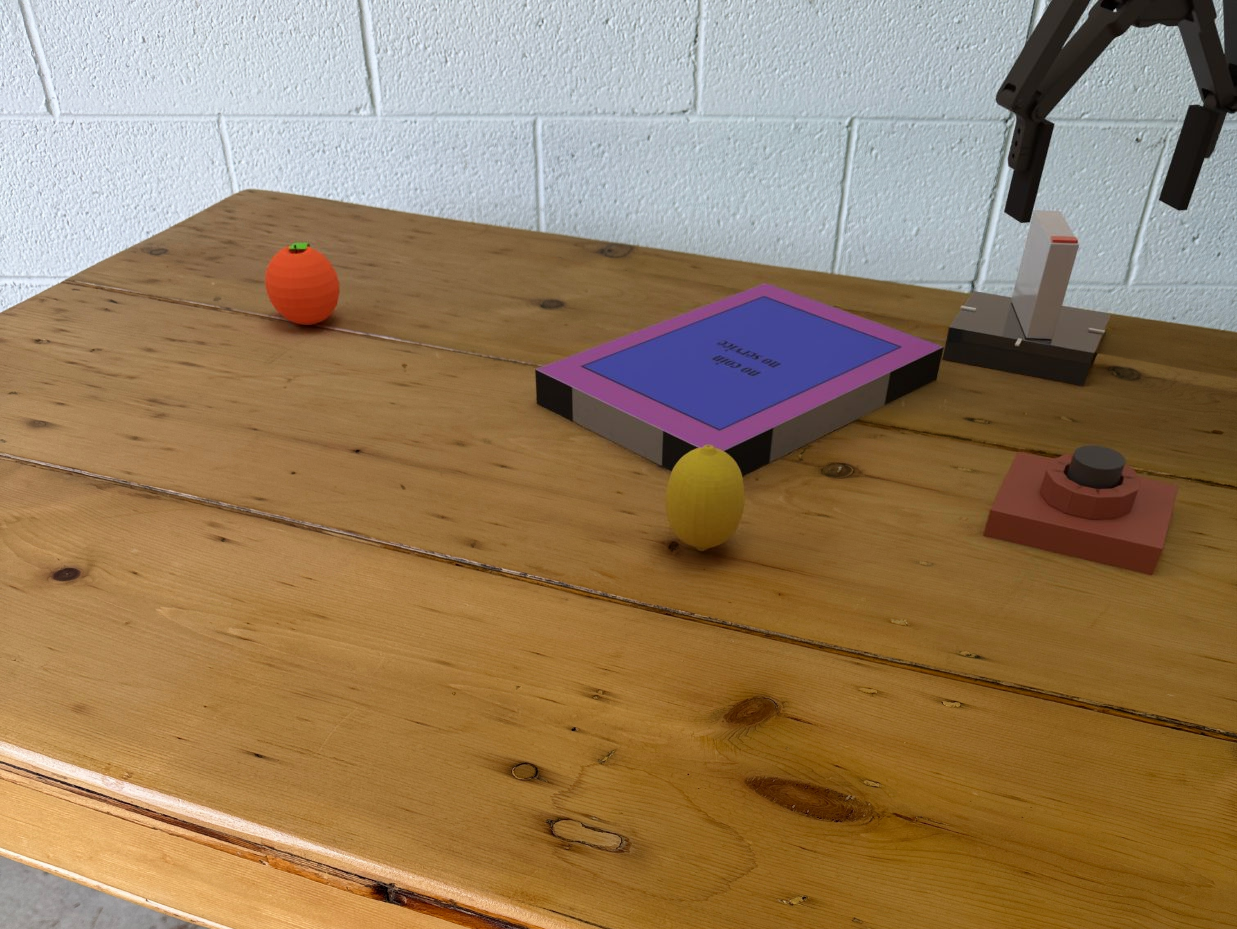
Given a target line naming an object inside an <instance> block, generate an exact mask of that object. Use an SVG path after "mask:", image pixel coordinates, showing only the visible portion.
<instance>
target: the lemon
mask: <svg viewBox="0 0 1237 929" xmlns="http://www.w3.org/2000/svg"><path fill="white" fill-rule="evenodd" d="M670 472H671V473H670V475H669V478H668V481H667V482H668V483H667V487H666V492H665V498H664V502H665V504H664V505H665V513H666V517H667V522H668V524H669V527H670V529H671V531H672V532H673V533H674V534H675V536H676V537H677V538H678V540H680V541H681V542H683V543H684V544H686V545H688V546H690V547H692V548H695V549H696V550H697V551H698V552H705V551H707V550H708V549H711V548H714V547H718V546H719V545H722V544H723V543H725V542H726V541H728V539H730V538H731V537H732V536H733V535H734V534H735V532H736V531H737V529H738V527H739V525H740V523H741V520H742V518H743V514H744V509H745V502H746V495H745V494H746V493H745V484H744V478H743V476H742V474H741V471H740V468H739V467H738V465H737V463H736V462H735V460H734V459H733V458H732V457H731V456H729V455H728V454H727V453H726V452H724V451H722V450H720V449H717V448H714V446H712V445H705V446H703V447H701V448H697V449H694V450H692V451H690V452H688V453H687V454H685V455H684V456H683V457H682V458H681V459H680V460H679V461H678V462H677V463H676V465H675V466H674V468H673V470H672V471H670Z"/></svg>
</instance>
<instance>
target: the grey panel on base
mask: <svg viewBox="0 0 1237 929" xmlns="http://www.w3.org/2000/svg"><path fill="white" fill-rule="evenodd" d="M1079 247H1080V243H1079V240H1078V238H1077V236H1075V235H1074V233H1073V231H1072V229H1071V228H1070V225H1069V224H1068V222H1067V221H1066V219H1065V217H1064V215H1063V212H1062V211H1060V210H1044V209H1043V210H1042V209H1041V210H1039V209H1033V212H1032V216H1031V220H1030V223H1029V229H1028V232H1027V236H1026V240H1025V244H1024V248H1023V253H1022V257H1021V261H1020V264H1019V268H1018V272H1017V276H1016V280H1015V283H1014V287H1013V291H1012V296H1011V297H1012V300H1011V301H1012V304H1013V306H1014V309H1015V311H1016V314H1017V316H1018V319H1019V321H1020V324H1021V326H1022V329H1023V331H1024V334H1025V336H1026V338H1038V339H1053V336H1054V333H1055V329H1056V326H1057V322H1058V318H1059V315H1060V311H1061V308H1062V306H1063V304H1064V301H1065V300H1064V299H1065V297H1066V294H1067V290H1068V287H1069V283H1070V280H1071V275H1072V272H1073V270H1074V265H1075V262H1076V259H1077V254H1078V251H1079V249H1080V248H1079Z"/></svg>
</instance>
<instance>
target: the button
mask: <svg viewBox="0 0 1237 929" xmlns="http://www.w3.org/2000/svg"><path fill="white" fill-rule="evenodd" d="M1072 454H1073V457H1072V460H1071V463H1070V466H1069V469H1068V472H1067V478H1068V479H1069V480H1071V481H1073V482H1075V483H1077V484H1079V485H1081V486H1085V487H1089V488H1094V489H1112V488H1115V487H1116V486H1117V485H1118V482H1119V480H1120V477H1121V474H1122V471H1123V468H1124V466H1125V465H1126V463H1127V462H1126V458H1125V456H1124V455H1123V454H1122V453H1121V452H1119V451H1117V450H1115V449H1112V448H1110V447H1106V446H1102V445H1083V446H1080V447H1078V448H1076V449H1075V450H1074V451H1073V453H1072Z"/></svg>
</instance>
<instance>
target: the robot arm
mask: <svg viewBox="0 0 1237 929" xmlns="http://www.w3.org/2000/svg"><path fill="white" fill-rule="evenodd" d="M1091 1H1092V0H1050V2H1049V3H1048V5H1047V7H1046V9H1045V10H1044V12H1043V14H1042V15H1041V18H1040V19H1039V21H1038V23H1037V24H1036V26H1035V27H1034V29H1033V30H1032V32H1031V34H1030V36H1029V37H1028V39H1027V41H1026V43H1025V44H1024V46H1023V48H1022V50H1021V51H1020V53H1019V54H1018V56H1017V58H1016V60H1015V61H1014V63H1013V65H1012V66H1011V68H1010V70H1009V72H1008V73H1007V75H1006V77H1005V78H1004V80H1003V82H1002V83H1001V85H1000V87H999V88H998V90H997V92H996V94H995V103H996V104H997V105H998V106H1000V107H1002V108H1004V109H1006V110H1008V111H1009V112H1011V113H1013V114H1014V116H1015V124H1014V128H1013V133H1012V138H1011V141H1010V147H1009V150H1008V154H1007V166H1008V168H1011V169H1012V170H1013V171H1012V175H1011V180H1010V184H1009V188H1008V193H1007V197H1006V201H1005V206H1004V209H1003V213H1004V214H1006V215H1008V216H1009V217H1011V218H1012V219H1014V220H1016V221H1017V222H1018V223H1019V224H1028V223H1029V224H1031V220H1032V216H1033V212H1034V210H1035V209H1034V208H1035V204H1036V202H1037V196H1038V192H1039V188H1040V184H1041V181H1042V176H1043V172H1044V168H1045V165H1046V160H1047V156H1048V153H1049V150H1050V144H1051V140H1052V136H1053V133H1054V129H1055V124H1056V123H1054V122H1053V121H1050V120H1049V119H1046V118H1047V117H1048V116H1049V115H1050V113H1051V112H1052V111H1053V110H1054V109H1055V108H1056V106H1058V104H1059V103H1060V102H1061V101H1062V100H1063V98H1065V97H1066V95H1067V94H1068V93H1069V91H1070V90H1071V89H1072V88H1073V87H1074V86H1075V85H1076V83H1077V82H1079V80H1080V79H1081V78H1082V77H1083V75H1084V74H1085V73H1086V72H1088V70H1089V69H1090V68H1091V66H1092V65H1093V64H1094V63H1095V62H1096V61H1097V59H1098V58H1099V57H1100V56H1101V55H1102V54H1103V52H1104V51H1105V50H1106V49H1107V48H1108V47H1109V46H1110V45H1111V44H1112V42H1113V41H1114V40H1115V39H1116V38H1119V37H1121V36H1122V35H1124V34H1125V33H1126V32H1127V31H1128V30H1129V29H1130V28H1131V27H1135V28H1138V29H1144V28H1145V29H1147V28H1150V27H1153V26H1157V25H1159V24H1160V25H1162V26H1165V27H1169V28H1171V27H1177V28H1178V30H1179V33H1180V36H1181V39H1182V44H1183V45H1184V49H1185V52H1186V55H1187V59H1188V61H1189V66H1190V68H1191V71H1192V74H1193V77H1194V80H1195V83H1196V87H1197V89H1198V93H1199V96H1200V100H1201V102H1202V103H1203V104H1202V105H1200V104H1189V105H1188V108H1187V111H1186V114H1185V117H1184V120H1183V123H1182V126H1181V129H1180V132H1179V135H1178V139H1177V142H1176V145H1175V148H1174V150H1173V154H1172V157H1171V159H1170V163H1169V165H1168V169H1167V173H1166V175H1165V179H1164V182H1163V185H1162V188H1161V190H1160V194H1159V197H1158V201H1160V202H1161V203H1163V204H1165V205H1167V206H1169V207H1171V208H1172V209H1174V210H1176V211H1178V212H1179V211H1187V210H1188V208H1189V205H1190V202H1191V199H1192V197H1193V193H1194V191H1195V189H1196V185H1197V181H1198V179H1199V176H1200V173H1201V171H1202V168H1203V164H1204V162H1205V159H1210V157H1212V155H1213V153H1214V151H1215V149H1216V146H1217V143H1218V140H1219V138H1220V135H1221V131H1222V128H1223V126H1224V123H1225V120H1226V117H1227V115H1228V114H1230V115H1233V114H1236V113H1237V0H1222V18H1223V44H1222V41H1221V38H1220V34H1219V31H1218V28H1217V24H1216V19H1217V17H1218V15H1217V14H1218V13H1217V11H1216V10H1217V9H1216V7H1215V4H1214V0H1097V1H1096V2H1095V3H1094V5H1093V6H1092V7H1091V8H1090V9H1089V11H1088V13H1087V18H1086V20H1084V22H1083V24H1081V26H1080V27H1079V28H1078V29H1077V30H1076V31H1075V33H1074V34H1073V35H1072V33H1073V31H1074V30H1075V28H1076V26H1077V25H1078V23H1079V21H1080V20H1081V18H1082V16H1083V15H1084V13H1085V11H1086V10H1087V8H1088V6H1089V4H1090V2H1091ZM1071 35H1072V36H1071ZM1069 37H1070V39H1069Z"/></svg>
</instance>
